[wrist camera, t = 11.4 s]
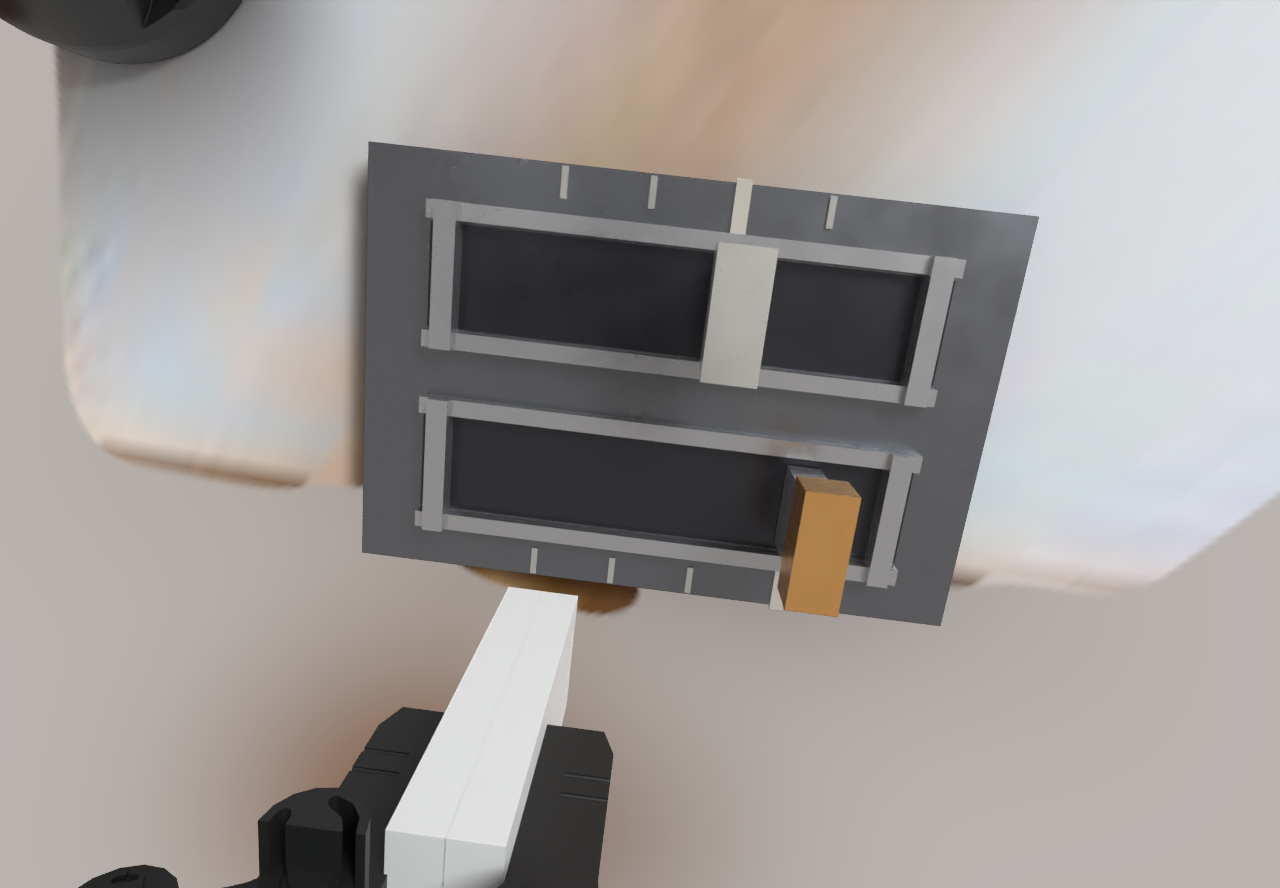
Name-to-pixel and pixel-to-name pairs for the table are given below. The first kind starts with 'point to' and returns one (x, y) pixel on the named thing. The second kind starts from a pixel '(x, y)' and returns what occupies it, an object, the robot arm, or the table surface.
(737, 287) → the fader
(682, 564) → the console
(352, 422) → the table surface
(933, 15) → the table surface
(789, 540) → the fader
